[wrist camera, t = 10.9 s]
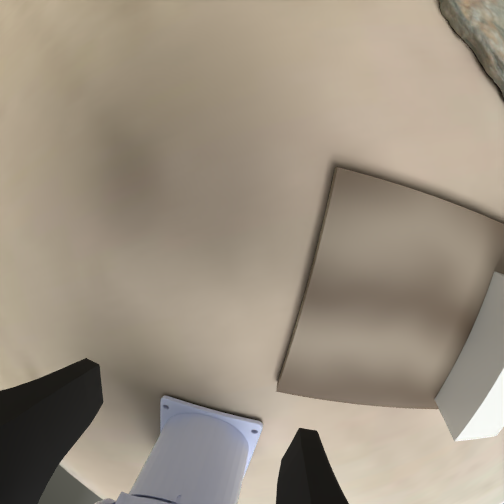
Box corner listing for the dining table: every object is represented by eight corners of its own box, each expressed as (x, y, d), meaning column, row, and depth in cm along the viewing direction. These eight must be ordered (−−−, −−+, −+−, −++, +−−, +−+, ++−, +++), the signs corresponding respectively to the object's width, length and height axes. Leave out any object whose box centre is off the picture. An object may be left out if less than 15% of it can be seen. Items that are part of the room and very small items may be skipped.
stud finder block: (474, 399, 16) (496, 436, 12) (434, 399, 17) (454, 442, 12) (531, 283, 14) (569, 307, 9) (494, 271, 14) (537, 297, 10)
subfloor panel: (477, 401, 17) (481, 408, 16) (277, 382, 19) (276, 391, 18) (545, 245, 14) (554, 248, 13) (335, 167, 15) (337, 167, 14)
